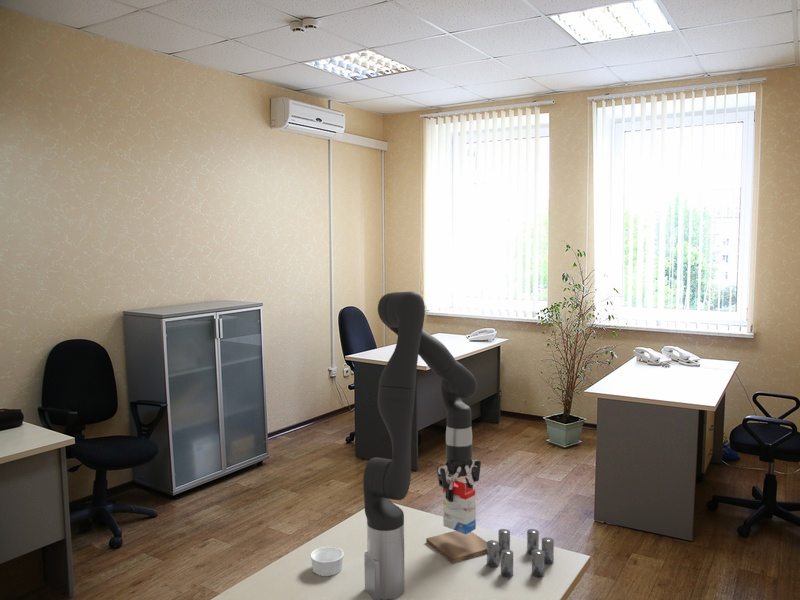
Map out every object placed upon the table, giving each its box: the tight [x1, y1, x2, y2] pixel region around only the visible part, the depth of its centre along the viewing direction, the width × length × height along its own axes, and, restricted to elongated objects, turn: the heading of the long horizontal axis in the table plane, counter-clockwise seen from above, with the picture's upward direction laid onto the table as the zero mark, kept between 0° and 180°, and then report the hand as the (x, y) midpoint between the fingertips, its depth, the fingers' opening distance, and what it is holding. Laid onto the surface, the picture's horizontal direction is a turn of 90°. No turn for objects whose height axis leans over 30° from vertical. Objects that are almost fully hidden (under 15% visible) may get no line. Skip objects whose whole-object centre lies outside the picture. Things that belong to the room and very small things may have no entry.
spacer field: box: [486, 528, 555, 579], centre depth 164 cm, size 17×17×6 cm
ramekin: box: [310, 546, 345, 577], centre depth 162 cm, size 9×9×4 cm
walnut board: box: [425, 530, 488, 564], centre depth 174 cm, size 14×14×1 cm
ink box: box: [442, 480, 477, 534], centre depth 174 cm, size 8×5×15 cm, turn 47°
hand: (459, 498), depth 173 cm, fingers closed on ink box, 6 cm apart
